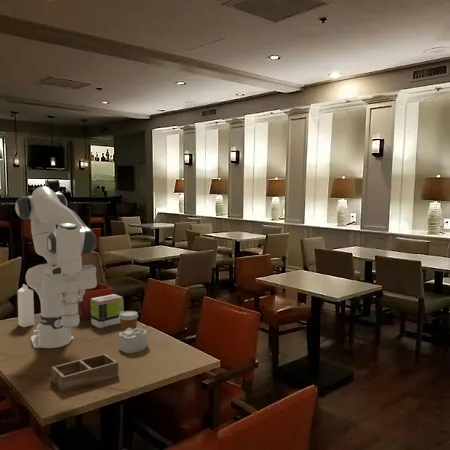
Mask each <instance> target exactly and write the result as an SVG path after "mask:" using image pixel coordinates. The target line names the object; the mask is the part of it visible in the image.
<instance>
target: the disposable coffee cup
mask: <svg viewBox="0 0 450 450" xmlns="http://www.w3.org/2000/svg"><path fill="white" fill-rule="evenodd" d="M119 318H120V323H119V324H120V329H121V332H123V331H126V329H127V328H132V329H135V328H137V323H138V318H139V314H138V312H137V311H135V310H126V311H125V310H124V312H121V313H120V315H119Z"/></svg>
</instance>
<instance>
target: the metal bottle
mask: <svg viewBox="0 0 450 450" xmlns="http://www.w3.org/2000/svg"><path fill="white" fill-rule="evenodd" d="M74 280H75V278H74V277H69V280H68V281H74ZM61 294H62V299H63V300H64V302H63V303H64V304H63V312H62V318H61V323H62V326H63V327H65V328H76V327H78V326H79V325H80V322H81V319H80V318H81V317H79V313H78V296H79V287H78V285H77V284H75V283H73V282H72V283H70V284H69V285H68V286H67V287H66V289H65V292H64V293H61Z"/></svg>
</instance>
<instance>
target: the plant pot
mask: <svg viewBox="0 0 450 450" xmlns="http://www.w3.org/2000/svg"><path fill="white" fill-rule="evenodd" d="M80 293H81V292H80V290H79V295H80ZM112 294H113V287H111V286H108V285H106V284H104V283H101V282H97V286H96V287H95V288H90V289H85V293H84V295H83V297H82V301H80V302H78V313H79V318H81V319H82V320H89V319H90V320H91V298H96V297H101V296H106V295H112Z"/></svg>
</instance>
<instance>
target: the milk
mask: <svg viewBox="0 0 450 450" xmlns="http://www.w3.org/2000/svg"><path fill="white" fill-rule="evenodd" d="M34 301H35V300H34V289H31V288H29V285H28V284H25V283H23V284H22V287H20V288H19V289H18V290H17V312H18V313H17V315H18V316H17V319H18V326H20V327H22V328H26V327H30V326H34V325H35V307H34V306H35V305H34V303H35V302H34Z"/></svg>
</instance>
